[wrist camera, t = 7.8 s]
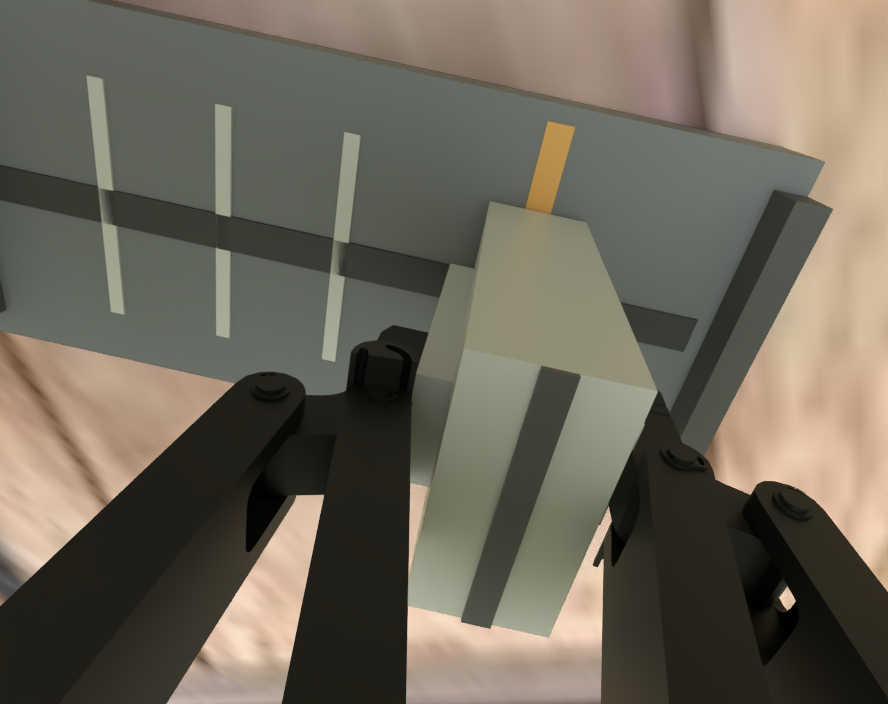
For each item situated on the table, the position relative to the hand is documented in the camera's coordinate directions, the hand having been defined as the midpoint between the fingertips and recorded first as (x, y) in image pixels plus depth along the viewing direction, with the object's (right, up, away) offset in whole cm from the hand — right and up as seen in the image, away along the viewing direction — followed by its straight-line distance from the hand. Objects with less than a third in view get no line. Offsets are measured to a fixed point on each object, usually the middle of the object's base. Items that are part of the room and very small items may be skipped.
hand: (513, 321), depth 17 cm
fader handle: (0, +1, +1) cm, 2 cm away
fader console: (-5, +4, +5) cm, 8 cm away
